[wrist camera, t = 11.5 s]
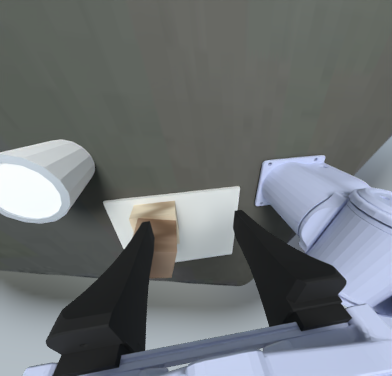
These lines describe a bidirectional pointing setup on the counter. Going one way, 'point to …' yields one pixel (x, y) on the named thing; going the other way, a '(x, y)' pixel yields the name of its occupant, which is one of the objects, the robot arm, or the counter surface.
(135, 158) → the counter surface
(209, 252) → the plate
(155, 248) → the walnut block
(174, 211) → the maple base block
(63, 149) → the white tapered cup
